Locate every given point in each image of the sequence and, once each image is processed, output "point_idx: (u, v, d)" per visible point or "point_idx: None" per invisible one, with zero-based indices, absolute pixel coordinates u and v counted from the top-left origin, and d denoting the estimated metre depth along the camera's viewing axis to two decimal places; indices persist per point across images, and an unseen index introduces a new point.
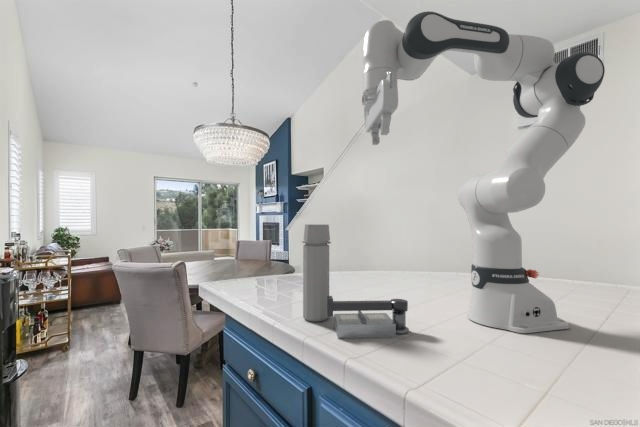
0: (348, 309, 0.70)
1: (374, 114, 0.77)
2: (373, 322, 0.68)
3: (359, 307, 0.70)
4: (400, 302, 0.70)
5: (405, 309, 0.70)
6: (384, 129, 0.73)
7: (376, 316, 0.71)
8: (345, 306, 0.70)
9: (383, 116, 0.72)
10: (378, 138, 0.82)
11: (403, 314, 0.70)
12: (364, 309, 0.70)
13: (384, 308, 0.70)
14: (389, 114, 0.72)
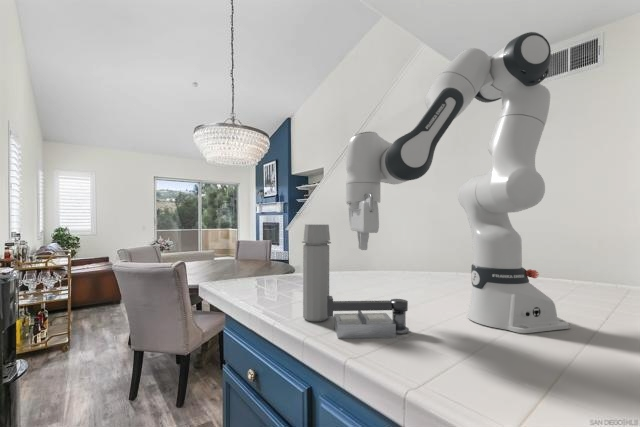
0: (348, 309, 0.70)
1: (356, 226, 0.76)
2: (373, 322, 0.68)
3: (359, 307, 0.70)
4: (400, 302, 0.70)
5: (405, 309, 0.70)
6: (362, 246, 0.76)
7: (376, 316, 0.71)
8: (345, 306, 0.70)
9: (361, 235, 0.75)
10: None
11: (403, 314, 0.70)
12: (364, 309, 0.70)
13: (384, 308, 0.70)
14: (367, 233, 0.75)
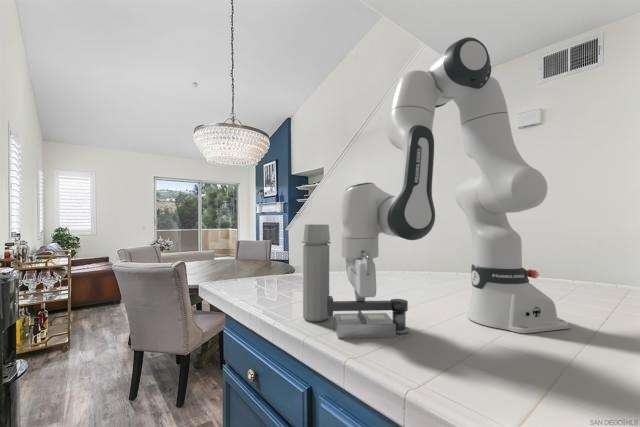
0: (348, 309, 0.70)
1: (353, 283, 0.71)
2: (373, 322, 0.68)
3: (359, 307, 0.70)
4: (400, 302, 0.70)
5: (405, 309, 0.70)
6: None
7: (376, 316, 0.71)
8: (345, 306, 0.70)
9: (358, 293, 0.71)
10: None
11: (403, 314, 0.70)
12: (364, 309, 0.70)
13: (384, 308, 0.70)
14: None
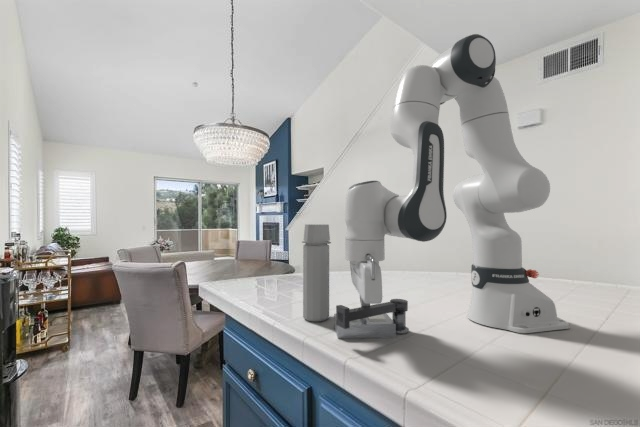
0: (361, 317, 0.64)
1: (358, 288, 0.67)
2: (373, 322, 0.68)
3: (370, 313, 0.65)
4: (402, 302, 0.70)
5: (407, 308, 0.70)
6: None
7: (376, 316, 0.71)
8: (359, 314, 0.64)
9: (363, 298, 0.67)
10: None
11: (403, 314, 0.70)
12: (374, 314, 0.66)
13: (390, 310, 0.68)
14: None
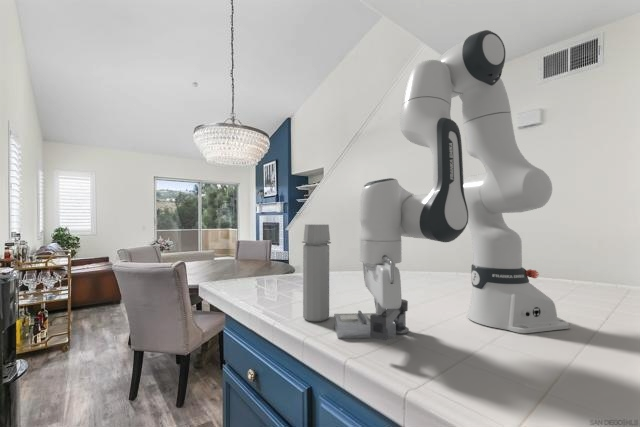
0: (389, 323, 0.60)
1: (373, 291, 0.63)
2: None
3: (392, 317, 0.62)
4: (404, 301, 0.71)
5: None
6: (379, 314, 0.64)
7: None
8: (388, 320, 0.59)
9: (379, 303, 0.63)
10: None
11: (403, 314, 0.70)
12: (394, 318, 0.63)
13: (399, 311, 0.67)
14: None
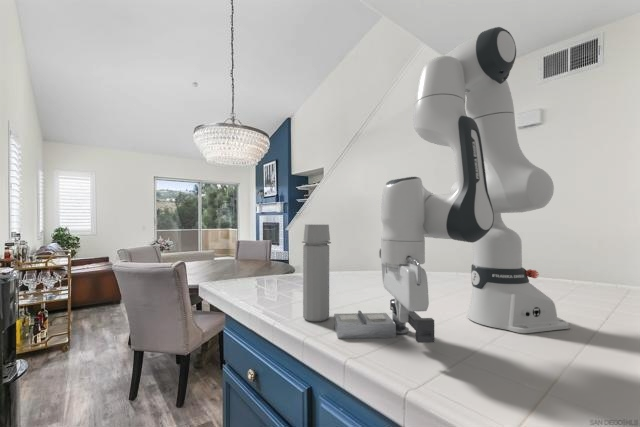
0: None
1: (395, 293, 0.61)
2: (373, 322, 0.68)
3: None
4: None
5: None
6: (402, 317, 0.61)
7: (376, 316, 0.71)
8: None
9: (402, 306, 0.60)
10: None
11: None
12: None
13: None
14: None
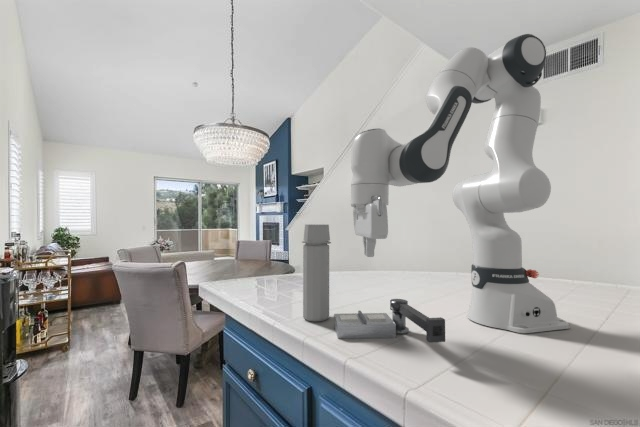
0: None
1: (362, 231, 0.70)
2: (373, 322, 0.68)
3: None
4: (403, 300, 0.71)
5: None
6: (369, 252, 0.70)
7: (376, 316, 0.71)
8: None
9: (368, 241, 0.69)
10: None
11: None
12: None
13: None
14: (374, 238, 0.69)
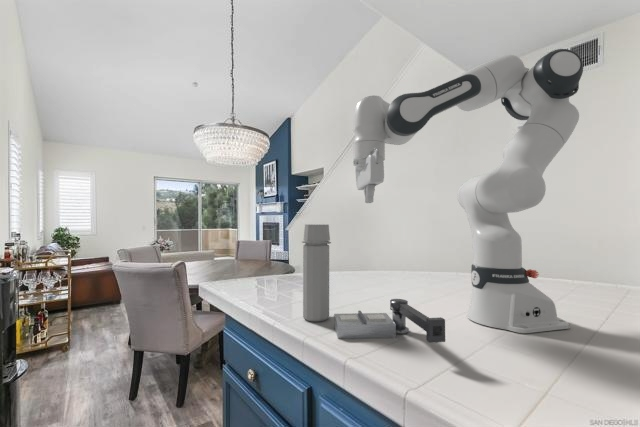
0: None
1: (363, 181, 0.84)
2: (373, 322, 0.68)
3: None
4: (403, 300, 0.71)
5: None
6: (369, 199, 0.84)
7: (376, 316, 0.71)
8: None
9: (368, 189, 0.83)
10: None
11: None
12: None
13: None
14: (373, 186, 0.83)
